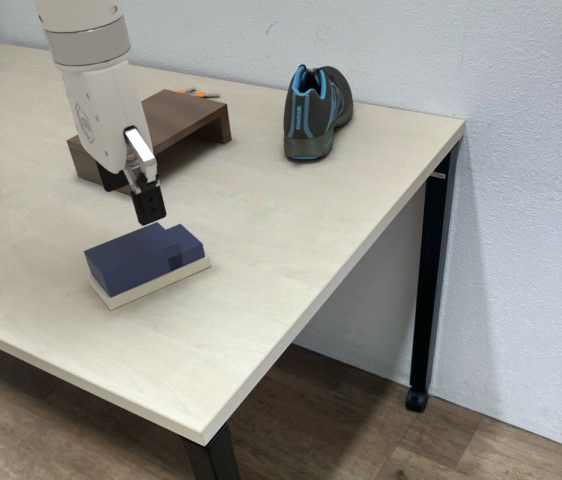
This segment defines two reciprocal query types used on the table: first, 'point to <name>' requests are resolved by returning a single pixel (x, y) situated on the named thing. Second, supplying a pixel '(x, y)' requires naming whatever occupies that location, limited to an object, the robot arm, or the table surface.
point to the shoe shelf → (165, 128)
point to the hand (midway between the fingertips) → (134, 203)
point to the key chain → (200, 94)
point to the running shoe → (315, 111)
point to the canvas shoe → (143, 262)
